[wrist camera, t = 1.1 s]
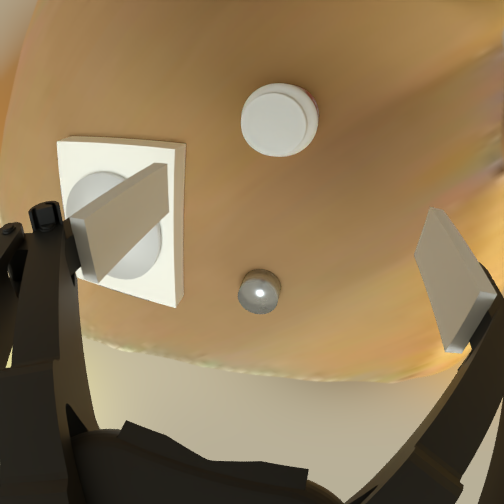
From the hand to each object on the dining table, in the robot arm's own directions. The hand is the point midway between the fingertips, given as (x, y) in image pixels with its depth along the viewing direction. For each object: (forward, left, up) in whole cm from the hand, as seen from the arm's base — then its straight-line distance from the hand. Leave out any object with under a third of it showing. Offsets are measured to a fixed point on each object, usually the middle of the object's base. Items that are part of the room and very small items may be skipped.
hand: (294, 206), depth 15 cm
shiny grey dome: (+20, -3, -19) cm, 28 cm away
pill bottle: (-2, -3, -20) cm, 20 cm away
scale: (+14, -23, -19) cm, 33 cm away
